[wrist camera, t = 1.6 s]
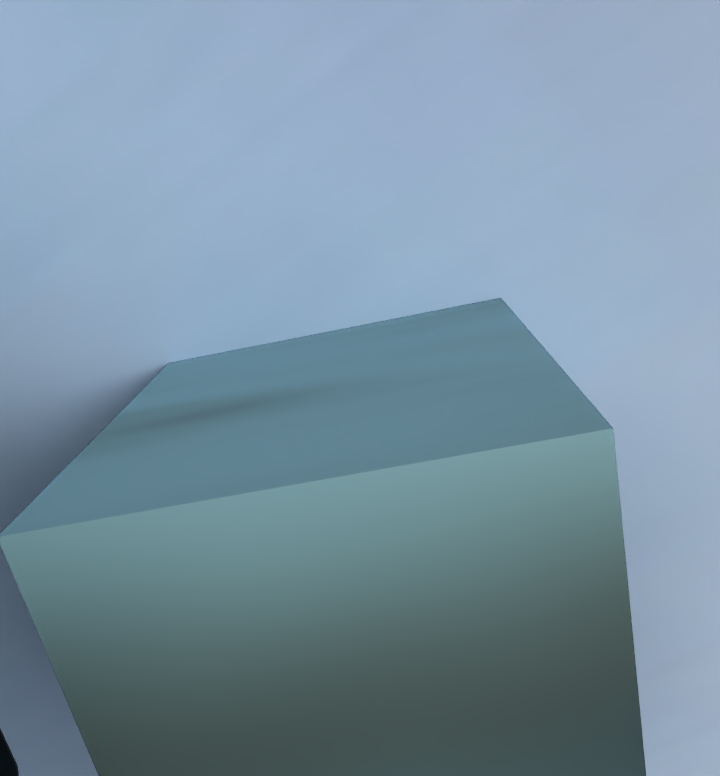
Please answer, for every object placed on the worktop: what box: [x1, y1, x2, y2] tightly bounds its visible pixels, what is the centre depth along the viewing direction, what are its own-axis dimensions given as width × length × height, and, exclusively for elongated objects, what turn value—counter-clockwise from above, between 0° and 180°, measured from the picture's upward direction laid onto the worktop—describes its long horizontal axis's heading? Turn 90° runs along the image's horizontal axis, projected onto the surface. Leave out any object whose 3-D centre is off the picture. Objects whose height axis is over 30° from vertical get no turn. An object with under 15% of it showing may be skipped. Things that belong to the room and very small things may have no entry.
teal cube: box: [0, 298, 646, 776], centre depth 10 cm, size 6×6×6 cm
